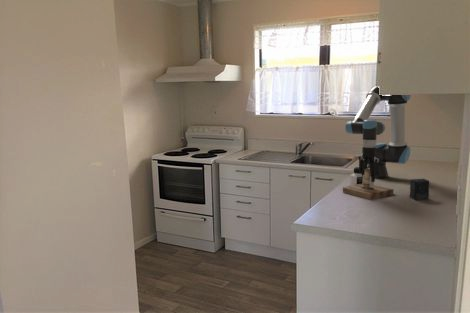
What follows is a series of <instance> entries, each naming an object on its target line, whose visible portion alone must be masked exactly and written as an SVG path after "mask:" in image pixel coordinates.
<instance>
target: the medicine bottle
mask: <svg viewBox="0 0 470 313" xmlns="http://www.w3.org/2000/svg"><path fill="white" fill-rule="evenodd" d="M362 182H363V180H362V174H361V173H359V166H355V167H354V168H353V174H350V186H352V185H357V184H362Z"/></svg>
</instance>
